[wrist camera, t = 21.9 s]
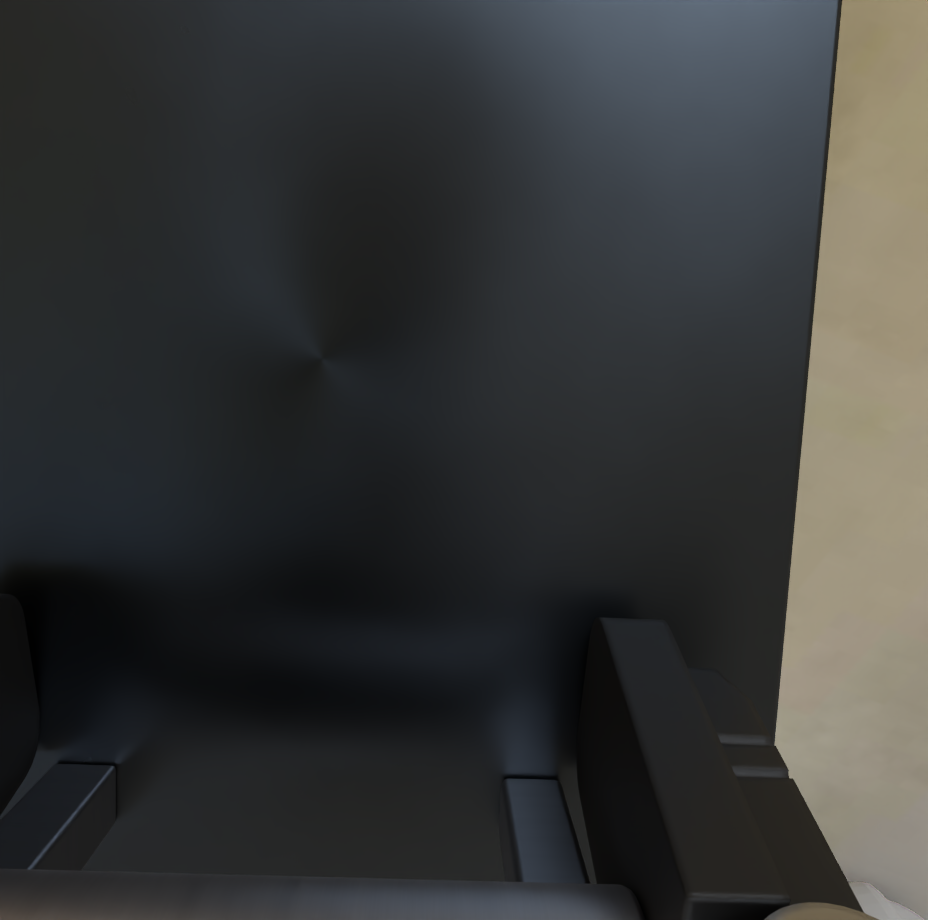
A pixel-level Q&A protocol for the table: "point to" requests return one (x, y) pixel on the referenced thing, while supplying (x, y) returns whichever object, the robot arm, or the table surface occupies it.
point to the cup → (880, 904)
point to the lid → (385, 427)
